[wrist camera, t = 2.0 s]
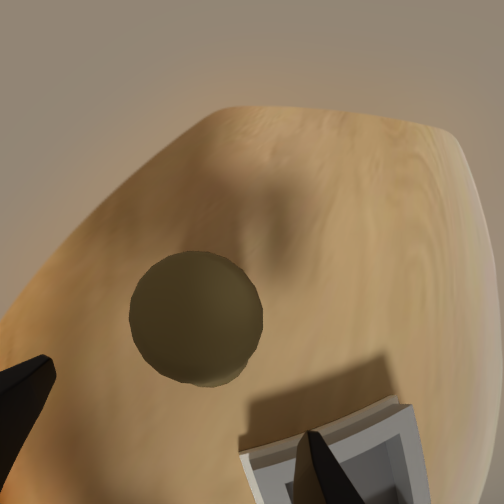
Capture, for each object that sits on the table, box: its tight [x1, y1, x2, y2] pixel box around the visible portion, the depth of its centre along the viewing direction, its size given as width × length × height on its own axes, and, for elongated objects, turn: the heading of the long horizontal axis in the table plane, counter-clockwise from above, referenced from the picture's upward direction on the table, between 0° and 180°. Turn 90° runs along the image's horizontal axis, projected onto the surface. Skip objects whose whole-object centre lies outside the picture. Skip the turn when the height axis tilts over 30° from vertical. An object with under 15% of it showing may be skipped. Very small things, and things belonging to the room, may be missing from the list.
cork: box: [129, 251, 263, 387], centre depth 14 cm, size 6×6×11 cm
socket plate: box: [239, 395, 431, 504], centre depth 14 cm, size 12×12×4 cm
